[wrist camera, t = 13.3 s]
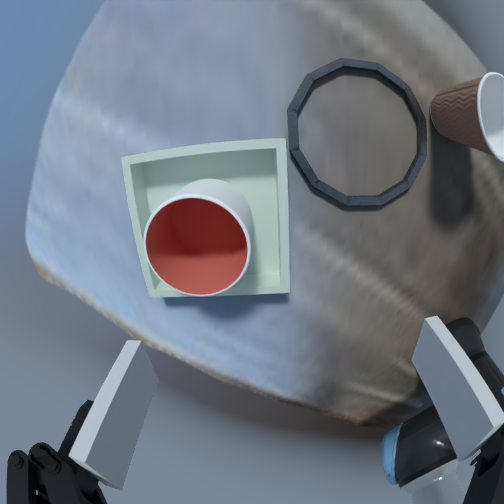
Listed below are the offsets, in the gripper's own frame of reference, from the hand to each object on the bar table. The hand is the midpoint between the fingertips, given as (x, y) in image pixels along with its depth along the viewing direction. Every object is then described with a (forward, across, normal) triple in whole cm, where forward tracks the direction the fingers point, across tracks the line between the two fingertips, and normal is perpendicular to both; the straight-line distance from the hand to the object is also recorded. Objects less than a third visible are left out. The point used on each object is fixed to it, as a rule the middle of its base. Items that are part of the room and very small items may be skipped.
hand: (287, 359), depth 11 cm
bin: (+24, -7, 0) cm, 25 cm away
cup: (+24, -7, 0) cm, 25 cm away
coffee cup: (+24, +26, +13) cm, 38 cm away
